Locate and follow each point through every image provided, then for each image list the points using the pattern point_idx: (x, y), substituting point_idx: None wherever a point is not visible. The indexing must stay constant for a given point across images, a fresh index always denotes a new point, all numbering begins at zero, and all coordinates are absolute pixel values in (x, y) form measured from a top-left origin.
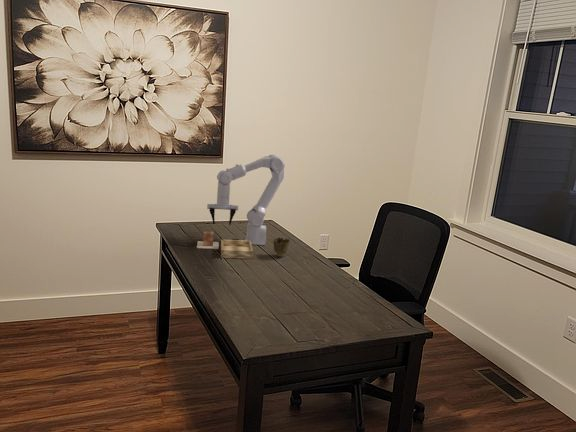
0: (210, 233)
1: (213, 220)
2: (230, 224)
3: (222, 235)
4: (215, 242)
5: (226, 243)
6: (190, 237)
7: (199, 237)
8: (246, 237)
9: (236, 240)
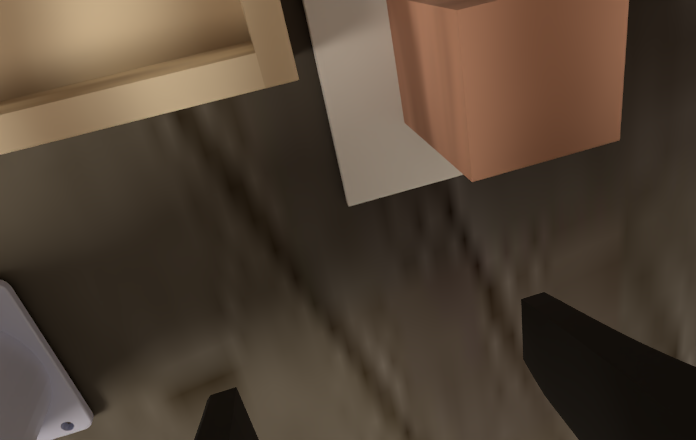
0: (512, 25)
1: (593, 329)
2: (208, 401)
3: (359, 428)
4: (381, 173)
5: (202, 56)
6: (636, 252)
7: (556, 287)
8: (26, 396)
9: (38, 125)
